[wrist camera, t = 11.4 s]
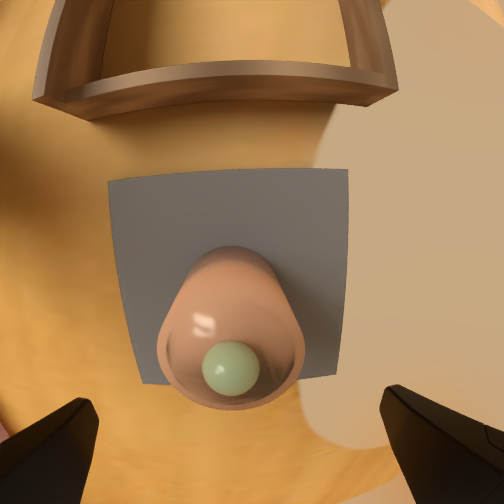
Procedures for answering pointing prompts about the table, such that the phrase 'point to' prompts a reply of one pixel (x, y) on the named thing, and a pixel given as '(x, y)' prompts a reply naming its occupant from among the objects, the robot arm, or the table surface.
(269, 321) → the terracotta pot
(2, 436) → the lavender two-hole holder
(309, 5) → the table surface
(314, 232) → the mat
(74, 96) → the frame
